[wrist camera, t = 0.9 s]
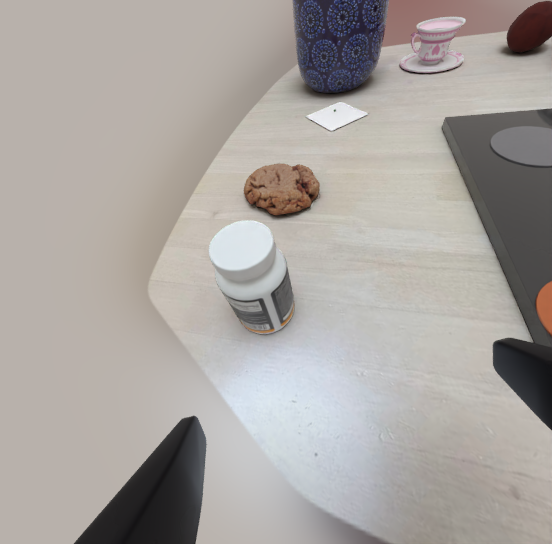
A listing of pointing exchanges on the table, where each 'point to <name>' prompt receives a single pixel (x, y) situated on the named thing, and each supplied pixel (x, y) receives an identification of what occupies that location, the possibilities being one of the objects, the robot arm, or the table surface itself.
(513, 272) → the hob
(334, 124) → the coaster
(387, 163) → the table surface
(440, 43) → the teacup
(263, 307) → the pill bottle
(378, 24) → the planter
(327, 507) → the table surface
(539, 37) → the potato
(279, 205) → the cookie
